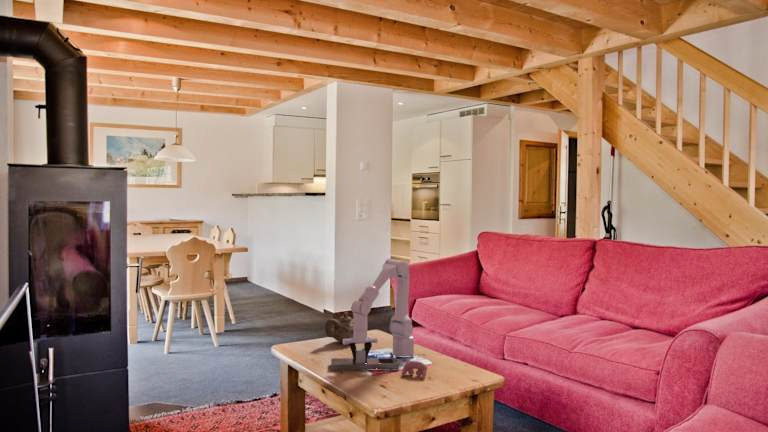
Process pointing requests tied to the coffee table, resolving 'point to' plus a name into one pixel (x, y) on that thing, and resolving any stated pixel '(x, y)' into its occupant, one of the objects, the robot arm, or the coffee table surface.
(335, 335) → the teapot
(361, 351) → the peg
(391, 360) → the rail
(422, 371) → the video game controller
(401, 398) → the coffee table surface
